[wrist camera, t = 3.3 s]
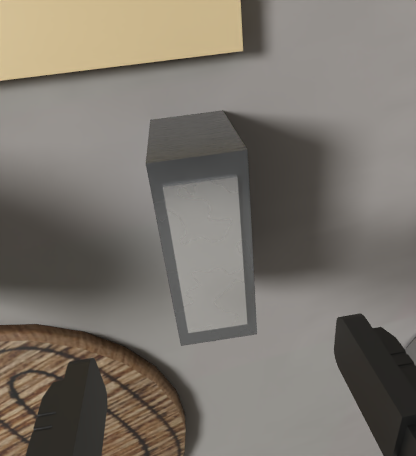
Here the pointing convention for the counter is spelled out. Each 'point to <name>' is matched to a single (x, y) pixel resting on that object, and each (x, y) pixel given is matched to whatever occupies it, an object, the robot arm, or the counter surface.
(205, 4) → the yellow peg board
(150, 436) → the trivet
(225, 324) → the grey rectangular block
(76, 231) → the counter surface
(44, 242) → the counter surface
